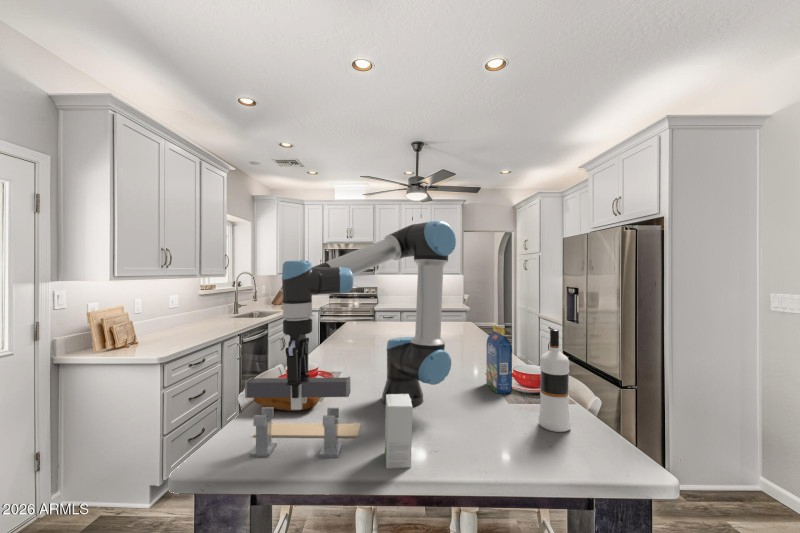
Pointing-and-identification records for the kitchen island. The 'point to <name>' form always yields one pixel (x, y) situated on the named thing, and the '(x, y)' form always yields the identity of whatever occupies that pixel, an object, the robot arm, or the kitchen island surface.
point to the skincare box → (398, 431)
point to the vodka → (554, 388)
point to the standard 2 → (331, 434)
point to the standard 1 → (263, 433)
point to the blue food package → (499, 361)
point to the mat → (310, 430)
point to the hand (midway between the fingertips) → (298, 405)
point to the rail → (309, 387)
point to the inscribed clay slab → (286, 402)
